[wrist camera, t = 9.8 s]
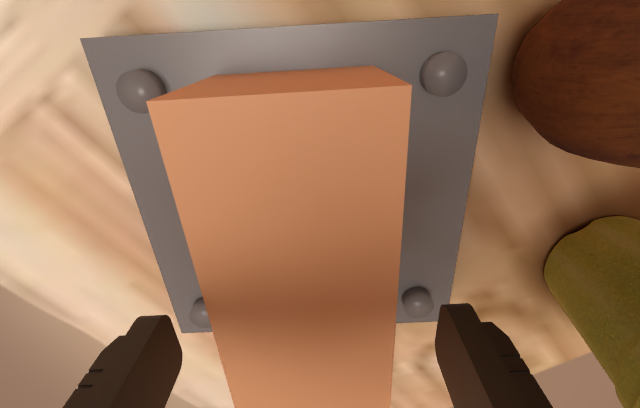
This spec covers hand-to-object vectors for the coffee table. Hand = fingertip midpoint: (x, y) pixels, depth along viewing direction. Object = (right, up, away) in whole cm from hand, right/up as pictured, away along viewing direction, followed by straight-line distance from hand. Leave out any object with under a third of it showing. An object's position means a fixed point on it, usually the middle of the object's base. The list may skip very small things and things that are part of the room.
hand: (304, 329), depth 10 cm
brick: (0, +3, +6) cm, 7 cm away
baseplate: (0, +4, +8) cm, 9 cm away
